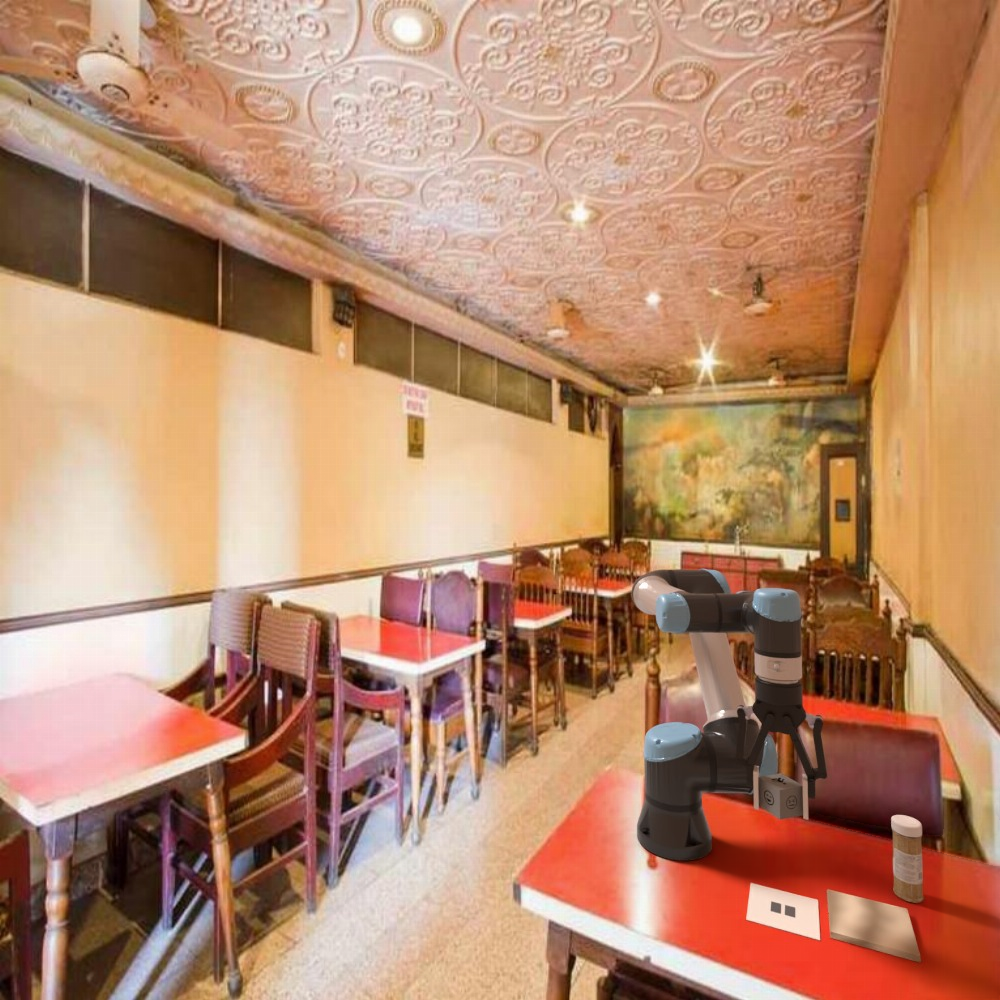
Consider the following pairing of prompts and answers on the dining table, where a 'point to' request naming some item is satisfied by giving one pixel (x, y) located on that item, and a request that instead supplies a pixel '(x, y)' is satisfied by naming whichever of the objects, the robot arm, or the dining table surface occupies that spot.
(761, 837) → the dining table surface
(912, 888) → the sprinkles bottle
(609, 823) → the dining table surface
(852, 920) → the birch coaster
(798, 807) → the dice cube
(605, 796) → the dining table surface
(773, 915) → the white tile
